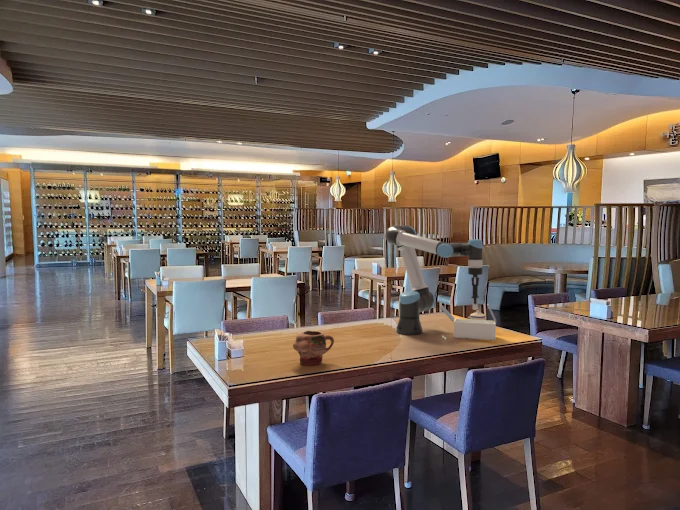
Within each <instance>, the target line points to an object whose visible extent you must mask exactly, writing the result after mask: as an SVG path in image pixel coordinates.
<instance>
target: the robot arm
mask: <svg viewBox="0 0 680 510" xmlns="http://www.w3.org/2000/svg"><path fill="white" fill-rule="evenodd" d="M416 231H417V230H416V229H415V228H413V227H412V226H410V225H392V226H390V227H388V228H387V230H386V232H385V235H384V236H385V239H386V241H387V242H388V244H390V245H394V246H396V248H397V250H398V251H400V253H401V256H402V261H403V264H404V267H405V271H406V273H407V278H408V280H409V281H408V282H409V285H410V291H409V290H408V291H403V292H402V293H400V294H399V299H398V301H399V302H398V303H399V304H398V305H399V313H398V315H399V320H398V322H397V324H396V333H397V334H400V335H405V336H407V335H409V336H410V335H411V336H414V335H421V334H422V333H423V327H422V323H421V320H420V313H422V312H426V311H429V310H431V309H432V308H434V306H435V304H436V297H435V295H434V293H433V292H431V291H430V289H429V285H426V284H425V280H424V276H423V273H422V270H421V265H420V263H419V260H418V255H417V252H416V250H419V251H423V252H427V253H430V254H435V255H437V256H438V257H440V258H453V257H467V259H468V261H467V264H468V265H467V266H468V269H467V271H468V272H467V273H468V274H469V275H472V277H471V286H472V296H471V297H470V298H471V299H472V310H474V311H477V310H478V308H479V305H478V304H479V302H478V300H479V299H478V298H480V296H478V295H479V292H478V288H479V281H480V277H478V276H481V275H483V264H484V261H483V251H484V250H483V248H484V247H483V241H482V240H483V239H476V238H475V239H474V238H473V239H469V240H468V242H450V243H448V242H444V241H440V240H437V239H433V238H428V237H424V236H420V235H417V232H416Z"/></svg>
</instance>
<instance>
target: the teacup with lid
mask: <svg viewBox="0 0 680 510" xmlns="http://www.w3.org/2000/svg"><path fill="white" fill-rule="evenodd" d="M486 316H487V315H486V314H484V313H482V312H481V311H480V310H475V312H473V313H470V315H469V316H467V318H466V319H471V320H486Z"/></svg>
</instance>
